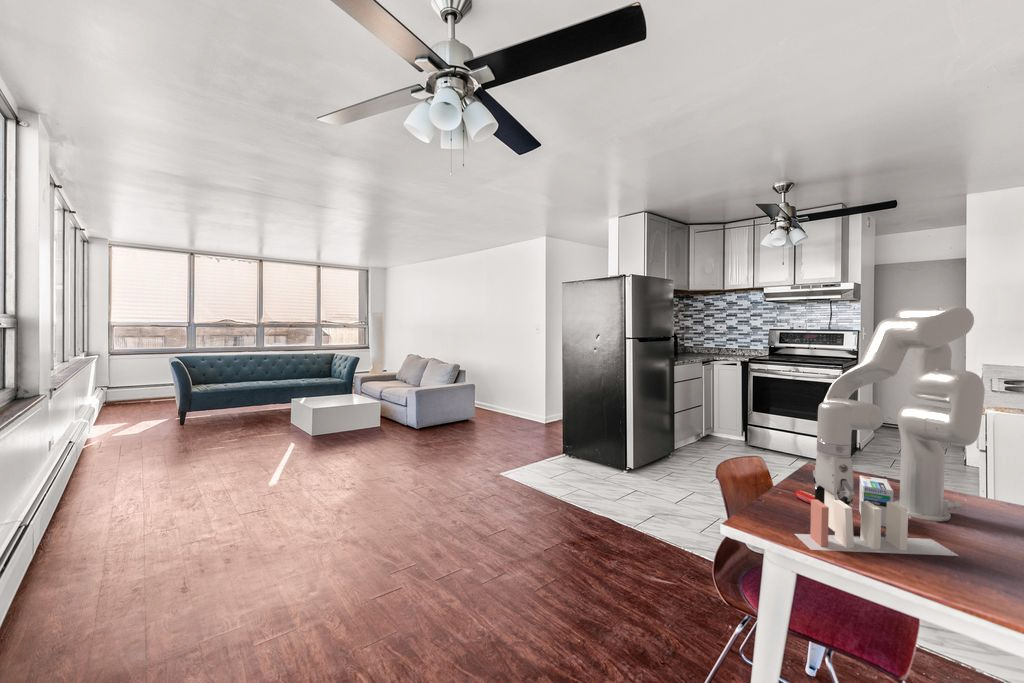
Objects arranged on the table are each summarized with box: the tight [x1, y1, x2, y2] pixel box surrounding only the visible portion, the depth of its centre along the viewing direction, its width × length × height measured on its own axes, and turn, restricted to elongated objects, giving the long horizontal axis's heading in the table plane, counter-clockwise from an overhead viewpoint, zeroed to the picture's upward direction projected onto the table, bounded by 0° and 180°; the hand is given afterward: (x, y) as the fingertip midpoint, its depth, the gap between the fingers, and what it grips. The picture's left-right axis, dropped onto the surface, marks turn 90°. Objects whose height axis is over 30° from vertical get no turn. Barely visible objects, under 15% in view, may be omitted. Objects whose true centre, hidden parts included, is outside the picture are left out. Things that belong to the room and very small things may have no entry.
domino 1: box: [809, 499, 829, 547], centre depth 117 cm, size 2×5×10 cm, turn 174°
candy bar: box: [793, 489, 815, 505], centre depth 140 cm, size 16×4×3 cm, turn 14°
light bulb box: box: [858, 475, 894, 528], centre depth 130 cm, size 11×7×11 cm, turn 148°
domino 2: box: [824, 489, 843, 533], centre depth 125 cm, size 2×5×10 cm, turn 174°
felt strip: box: [794, 533, 960, 557], centre depth 116 cm, size 33×8×1 cm, turn 83°
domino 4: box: [859, 501, 882, 549], centre depth 115 cm, size 2×5×10 cm, turn 174°
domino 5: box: [885, 501, 909, 550], centre depth 115 cm, size 2×5×10 cm, turn 174°
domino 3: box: [833, 500, 854, 548], centre depth 116 cm, size 2×5×10 cm, turn 174°
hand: (831, 511), depth 125 cm, fingers open, 9 cm apart
